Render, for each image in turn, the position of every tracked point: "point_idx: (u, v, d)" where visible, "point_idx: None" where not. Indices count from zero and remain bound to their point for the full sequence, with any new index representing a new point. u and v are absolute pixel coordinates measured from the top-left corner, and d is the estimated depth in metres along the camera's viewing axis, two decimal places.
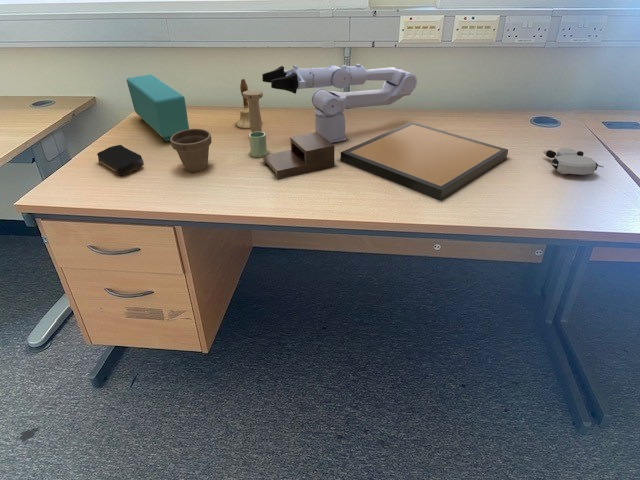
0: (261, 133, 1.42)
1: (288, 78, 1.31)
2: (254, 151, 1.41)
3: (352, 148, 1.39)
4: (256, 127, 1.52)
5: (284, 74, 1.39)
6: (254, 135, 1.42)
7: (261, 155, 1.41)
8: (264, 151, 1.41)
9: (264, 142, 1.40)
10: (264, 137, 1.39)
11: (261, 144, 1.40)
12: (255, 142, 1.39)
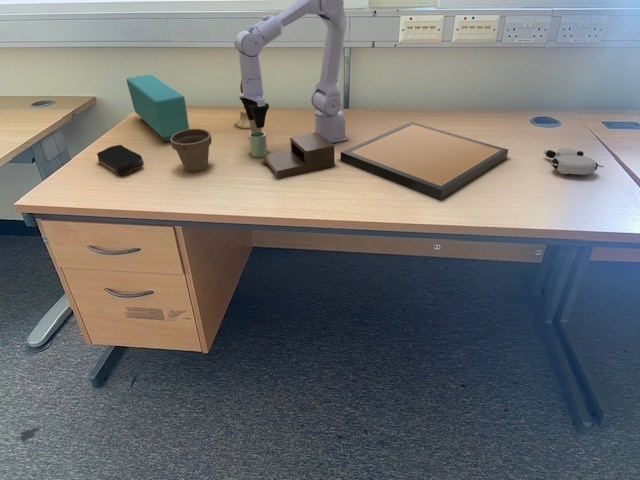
0: (261, 133, 1.42)
1: (254, 114, 1.31)
2: (254, 151, 1.41)
3: (352, 148, 1.39)
4: (256, 127, 1.52)
5: None
6: (254, 135, 1.42)
7: (261, 155, 1.41)
8: (264, 151, 1.41)
9: (264, 142, 1.40)
10: (264, 137, 1.39)
11: (261, 144, 1.40)
12: (255, 142, 1.39)
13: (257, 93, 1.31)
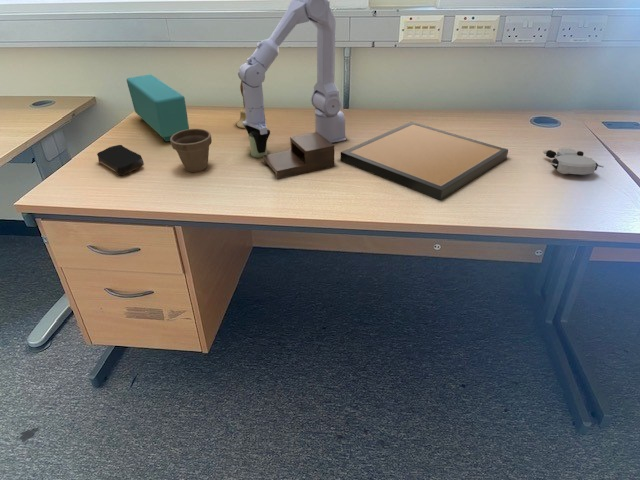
0: None
1: (256, 140, 1.36)
2: (254, 151, 1.41)
3: (352, 148, 1.39)
4: None
5: None
6: None
7: (261, 155, 1.41)
8: None
9: None
10: None
11: None
12: None
13: (260, 121, 1.35)
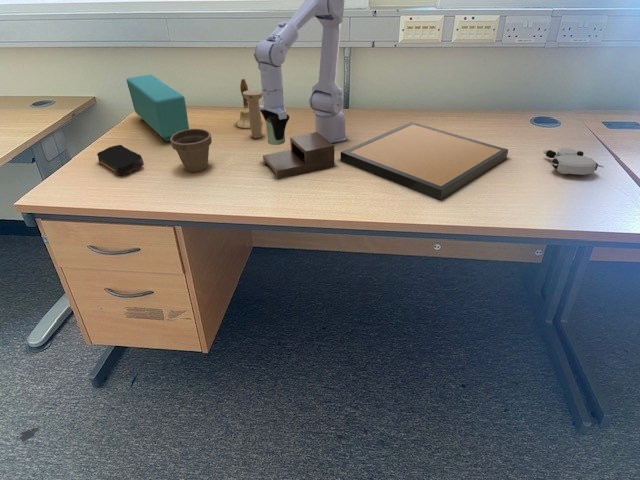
0: None
1: (274, 126, 1.26)
2: (271, 138, 1.30)
3: (352, 148, 1.39)
4: (256, 127, 1.52)
5: None
6: None
7: (279, 143, 1.31)
8: None
9: None
10: None
11: None
12: None
13: (278, 105, 1.25)
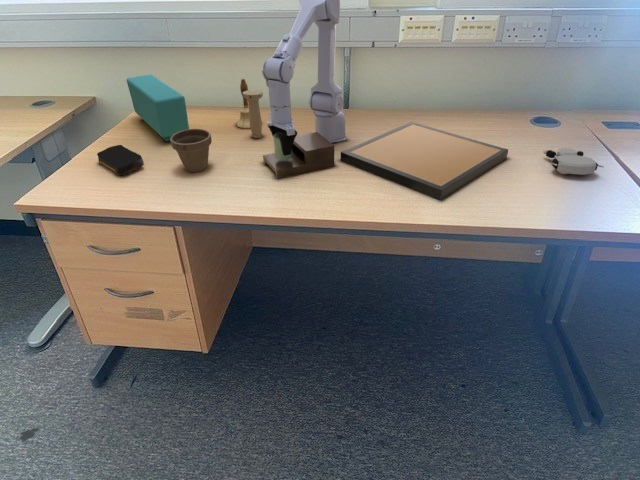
0: None
1: (282, 142, 1.26)
2: (279, 153, 1.30)
3: (352, 148, 1.39)
4: (256, 127, 1.52)
5: None
6: None
7: (286, 158, 1.31)
8: None
9: None
10: None
11: None
12: (280, 143, 1.28)
13: (286, 121, 1.25)
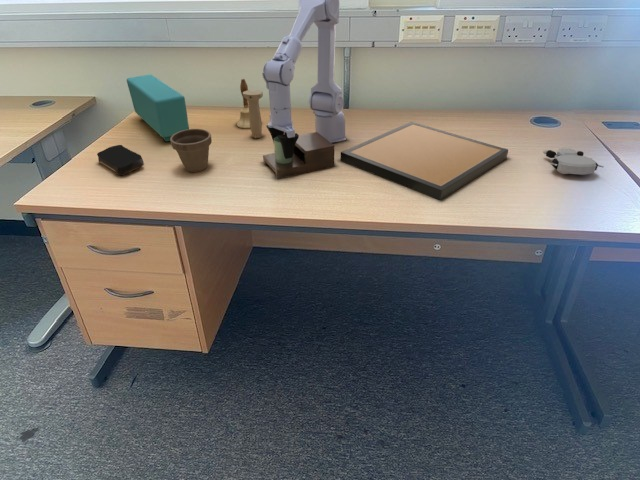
0: None
1: (283, 145, 1.25)
2: (279, 157, 1.31)
3: (352, 148, 1.39)
4: (256, 127, 1.52)
5: None
6: (279, 140, 1.32)
7: (286, 161, 1.31)
8: None
9: None
10: None
11: None
12: (281, 147, 1.29)
13: (286, 123, 1.25)
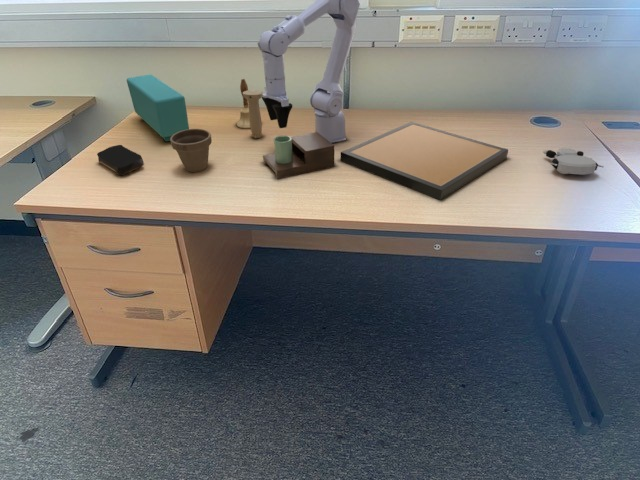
0: (286, 138, 1.32)
1: (278, 114, 1.31)
2: (279, 157, 1.31)
3: (352, 148, 1.39)
4: (256, 127, 1.52)
5: None
6: (279, 140, 1.32)
7: (286, 161, 1.31)
8: (290, 157, 1.31)
9: (290, 147, 1.30)
10: (290, 142, 1.29)
11: (287, 149, 1.29)
12: (281, 147, 1.29)
13: (280, 93, 1.30)
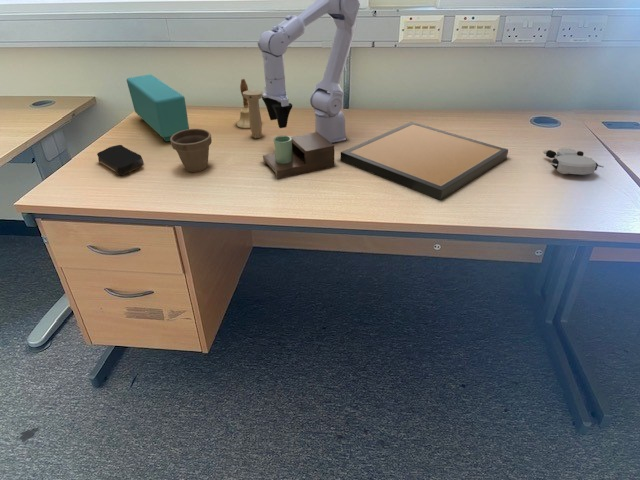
0: (286, 138, 1.32)
1: (278, 114, 1.31)
2: (279, 157, 1.31)
3: (352, 148, 1.39)
4: (256, 127, 1.52)
5: None
6: (279, 140, 1.32)
7: (286, 161, 1.31)
8: (290, 157, 1.31)
9: (290, 147, 1.30)
10: (290, 142, 1.29)
11: (287, 149, 1.29)
12: (281, 147, 1.29)
13: (280, 93, 1.30)
